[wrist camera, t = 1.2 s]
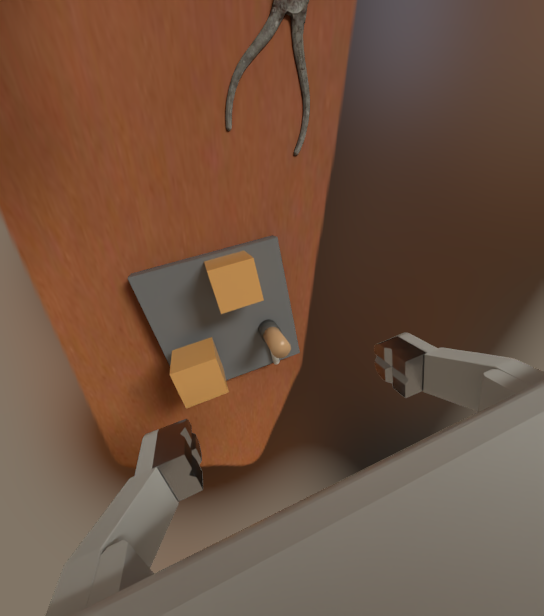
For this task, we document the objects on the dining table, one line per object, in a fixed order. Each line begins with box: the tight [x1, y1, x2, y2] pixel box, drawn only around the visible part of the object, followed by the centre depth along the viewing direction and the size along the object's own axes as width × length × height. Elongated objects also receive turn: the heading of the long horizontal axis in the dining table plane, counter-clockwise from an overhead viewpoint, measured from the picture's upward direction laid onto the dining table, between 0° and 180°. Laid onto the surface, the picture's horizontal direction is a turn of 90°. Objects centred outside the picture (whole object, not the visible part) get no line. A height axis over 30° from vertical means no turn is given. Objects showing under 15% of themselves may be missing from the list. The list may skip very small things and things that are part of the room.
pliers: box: [226, 0, 310, 156], centre depth 26 cm, size 10×1×20 cm
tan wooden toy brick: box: [204, 251, 264, 314], centre depth 29 cm, size 5×5×5 cm
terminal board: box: [128, 235, 300, 408], centre depth 31 cm, size 18×18×9 cm
